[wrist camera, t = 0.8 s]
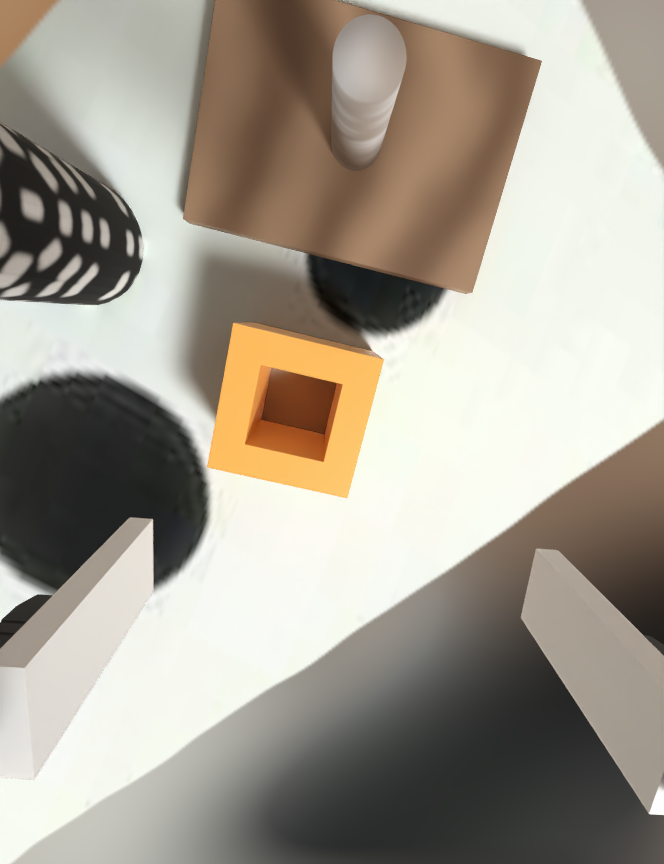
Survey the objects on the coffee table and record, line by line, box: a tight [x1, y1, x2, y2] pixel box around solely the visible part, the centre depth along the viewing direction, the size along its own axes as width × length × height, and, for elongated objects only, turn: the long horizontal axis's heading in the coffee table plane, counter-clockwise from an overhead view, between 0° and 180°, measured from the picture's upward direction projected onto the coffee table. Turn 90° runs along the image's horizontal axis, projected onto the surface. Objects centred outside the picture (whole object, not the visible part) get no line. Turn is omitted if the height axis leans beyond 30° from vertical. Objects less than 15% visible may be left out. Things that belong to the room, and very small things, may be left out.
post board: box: [183, 0, 542, 294], centre depth 25 cm, size 20×14×11 cm
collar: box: [207, 322, 384, 498], centre depth 31 cm, size 9×9×7 cm
